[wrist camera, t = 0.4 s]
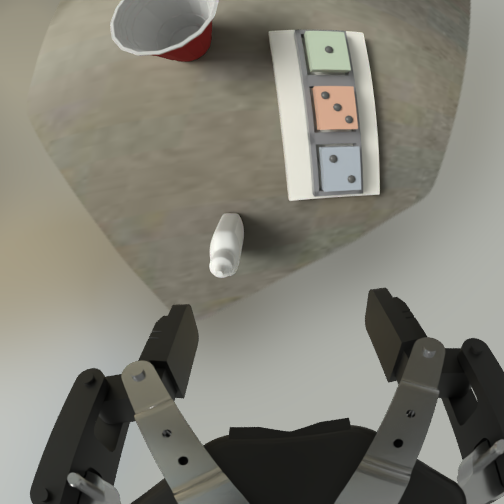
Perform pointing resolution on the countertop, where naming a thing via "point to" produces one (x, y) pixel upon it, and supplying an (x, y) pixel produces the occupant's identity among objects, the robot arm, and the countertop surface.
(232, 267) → the eye dropper bottle
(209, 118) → the countertop surface
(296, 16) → the countertop surface
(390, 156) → the countertop surface
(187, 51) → the plastic cup
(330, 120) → the key three
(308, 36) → the key one
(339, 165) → the key two
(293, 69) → the keypad
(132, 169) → the countertop surface
